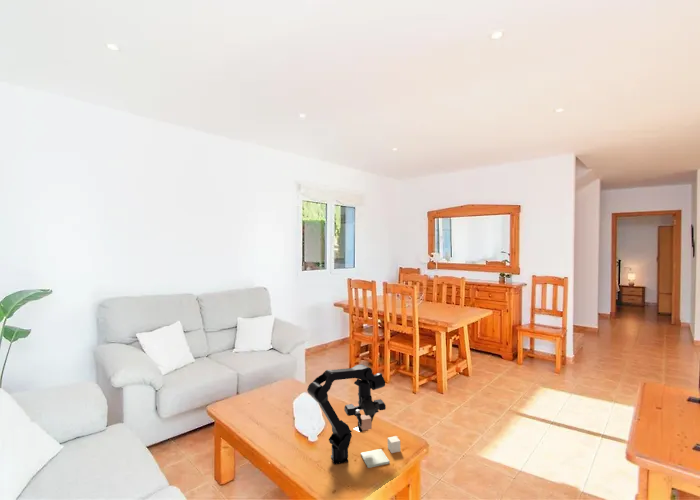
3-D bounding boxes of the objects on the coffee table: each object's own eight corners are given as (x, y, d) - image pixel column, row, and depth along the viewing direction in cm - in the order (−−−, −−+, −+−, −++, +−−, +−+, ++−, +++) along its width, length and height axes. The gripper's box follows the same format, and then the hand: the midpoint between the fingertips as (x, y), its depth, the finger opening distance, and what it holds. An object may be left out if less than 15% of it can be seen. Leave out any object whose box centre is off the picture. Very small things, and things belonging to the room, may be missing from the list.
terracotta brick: (362, 430, 169) (362, 419, 169) (359, 425, 173) (359, 415, 173) (371, 428, 170) (371, 418, 170) (368, 424, 174) (368, 413, 174)
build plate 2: (359, 435, 184) (359, 426, 184) (349, 430, 189) (348, 421, 189) (375, 425, 194) (374, 416, 193) (364, 420, 198) (364, 412, 198)
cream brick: (391, 453, 167) (391, 442, 167) (387, 448, 172) (387, 437, 171) (400, 451, 168) (400, 440, 168) (396, 446, 173) (396, 435, 173)
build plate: (367, 468, 157) (367, 465, 157) (360, 454, 166) (360, 452, 166) (389, 463, 160) (389, 461, 160) (381, 450, 169) (381, 448, 169)
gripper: (350, 402, 160) (351, 437, 161) (389, 396, 166) (390, 430, 166) (343, 392, 171) (344, 425, 172) (380, 386, 177) (381, 418, 177)
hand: (365, 425), depth 171 cm, fingers closed on terracotta brick, 4 cm apart
